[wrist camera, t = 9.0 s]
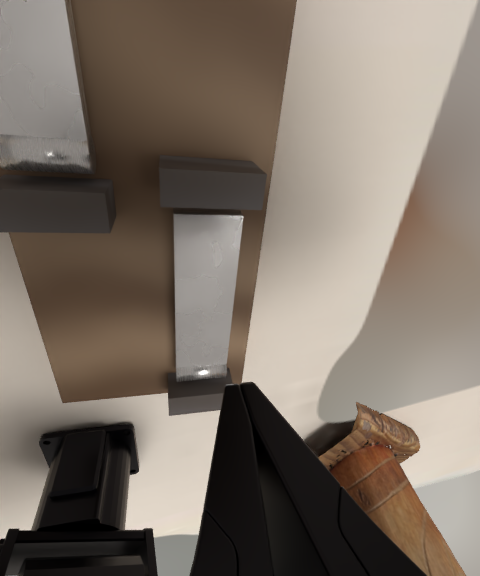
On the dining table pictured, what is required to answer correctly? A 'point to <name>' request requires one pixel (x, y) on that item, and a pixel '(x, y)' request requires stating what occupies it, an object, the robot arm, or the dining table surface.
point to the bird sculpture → (389, 488)
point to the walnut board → (151, 188)
